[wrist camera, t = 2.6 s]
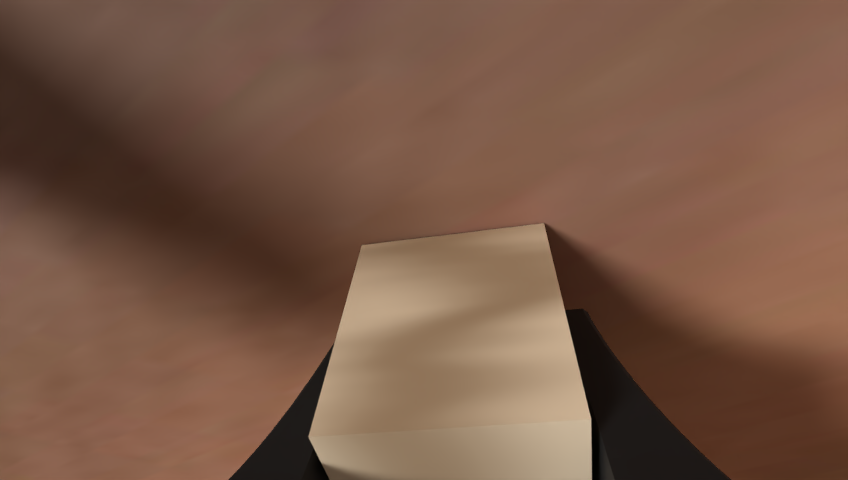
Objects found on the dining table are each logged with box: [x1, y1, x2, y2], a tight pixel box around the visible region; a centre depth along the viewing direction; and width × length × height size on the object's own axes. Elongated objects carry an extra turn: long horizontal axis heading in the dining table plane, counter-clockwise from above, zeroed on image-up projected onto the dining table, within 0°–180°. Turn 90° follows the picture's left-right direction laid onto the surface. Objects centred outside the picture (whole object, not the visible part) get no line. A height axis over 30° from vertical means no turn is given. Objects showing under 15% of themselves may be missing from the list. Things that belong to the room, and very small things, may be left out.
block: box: [309, 223, 592, 480], centre depth 12 cm, size 4×4×6 cm
